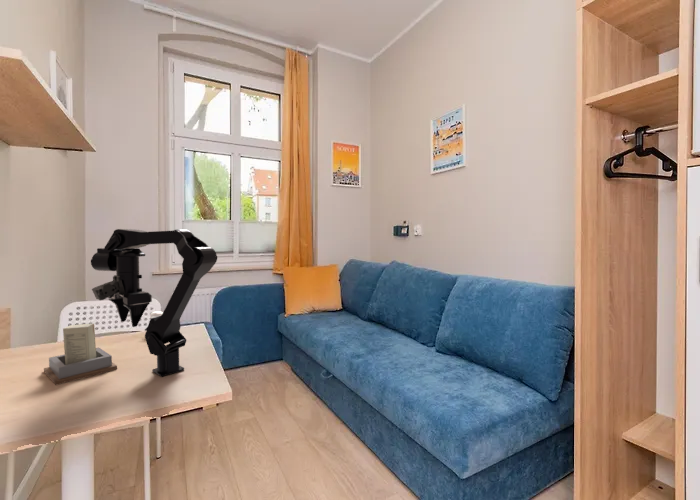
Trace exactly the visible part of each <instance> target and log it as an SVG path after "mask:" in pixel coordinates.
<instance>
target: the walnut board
mask: <svg viewBox="0 0 700 500" xmlns="http://www.w3.org/2000/svg"><path fill="white" fill-rule="evenodd" d="M115 370H118V364H115V363H114V362H112V366H110V367H106V368H102V369H98V370H94V371H90V372H86V373H81V374H77V375H73V376H69V377H65V378H61V379H59V378H58V377H57V376H56V375H55V374H54V373H53V372H52V370H51V369H50V368H49V366H47V367H43V372H44V373H45V375H47V377H48V378H49V379H50V380H51V381H52V383H53V384H54V385H55V386H57V385H60V384H65V383H68V382H72V381H76V380H81V379H85V378H88V377H92V376H97V375H99V374H103V373H107V372H111V371H115Z"/></svg>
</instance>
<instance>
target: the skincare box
mask: <svg viewBox="0 0 700 500" xmlns="http://www.w3.org/2000/svg"><path fill="white" fill-rule="evenodd" d="M62 333H63V334H62V335H63V349H64V351H63V352H64V354H65V365H67V364H71V363H76V362H80V361H84V360H89V359H93V358H96V348H97V347H96V332H95V323H80V324H70V325H68V326H66V327H64V328H62Z"/></svg>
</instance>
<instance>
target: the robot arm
mask: <svg viewBox="0 0 700 500" xmlns="http://www.w3.org/2000/svg"><path fill="white" fill-rule="evenodd" d="M161 244H162V245H165V244H174V245H175V247H176V250H177V253H178V255H179V256H180V257H181V258H183V260H182V262H181V263H182V264H181V265H182V266H181V267H182V275H181V276H180V279H178V282H177V284H176V287H175V288H174V290H173V292H172V295H171V296H170V298H169V300H168V302H167V304H166V306H165V308H164V310H163V311H162V312H163V314H162V315H161V316H158V317H154V318H151V317H150V319H149V321H148V325H147V327H146V328H145V329H144V331H145V334H144V339H145V342H146V345H147V347H148V351H149V354H150V355H153V356H155V357H156V365H157V366H156V368H153V369H152V372H153V373H155V374H156V375H158V376H159V377H165V376H168V375H169V376H170V375H172V374H175V373H178V372H182V371H184V370H185V367H183V366H182V365H180V348H182V347H185V346H186V343H187V339H186V337H185V336H184V335H183V334H182V333H181V332H180V330H181V321H180V320H181V317H182V316H183V314H184V311H185V310H186V307H187V306H188V304H189V301H190V300H191V298H192V296H193V294H194V292H195V290H196V289H197V287H198V285H199V283H200V281H201V279H203V277H204V276H205V275H207V273H208V272H210V271H211V270H212V268H213V267H214V266H215V264H216V263H217V261H218V256H217V252H216V250H215V249H214V248H213V247H210V246H209V244H207V243H206V242H204V241H203V240H201V239H200V238H198V237H197V236H195V235H194V234H193V232H192V231H190V230H188V229H174V230H161V231H160V230H157V231H156V230H155V231H146V230H140V229H131V228H130V229H127V228H126V229H125V228H124V229H122V228H116V229H115V230H113V233H112V234H111V236H110V238H109V240H108V241H107V243H106V244H105V246H104V247H103V248H102V247H101V248H100V247H99V248H97V249H96V251H97V252H95V253H94V254H93V255H92V257H91V259H90V265H91V267H92V269H93V270H95V271H99V272H100V271H102V272H105V271H106V272H115V273H116V274H113V276H112V280H111V281H109V282H105V283H103V284H100V285H98V286H95V287H92V289H91V291H92V293H93V294H94V297H95V298H96V300H99V301H103V300H106V299H107V298H108V301H110V302H112V303H113V304H114V305H115V306H116V309H117V312H118V316H119V319H120V321H121V322H126V321H127V318H128V316H129V317H130V318H129V319H130V322H131V326H132V327H133V328H135V327H137V326H138V325H139V323H140V321H141V318H143V314H144V313H145V311H146V309H147V308H148V307H149V305H150V303H152V302H153V300H152V299H153V298H152V297H153V295H152V294H151V293H149V292H147V291H143V288H142V287H140V279H142V278H143V275H142V274H140V257H145V256H146V253H145V252H143V251H142V250H141V248H143V247H146V246H149V245H161Z"/></svg>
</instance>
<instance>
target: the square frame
mask: <svg viewBox="0 0 700 500" xmlns="http://www.w3.org/2000/svg"><path fill="white" fill-rule="evenodd" d="M112 359H113V357H112V355H111V354H110V353H108V352H106V351H105V350H103V349H102V348H101V347H96V358H93V359H89V360H84V361H80V362H76V363H71V364H67V365H65V353H64V354H60V355H55V356H52V357H51V356H50V357H48V367H49V368H50V369H51V370H52V372H53V373H54V374H55V375H56V376H57V377H58V378H59V379H61V378H65V377H69V376H73V375H77V374H81V373H86V372H90V371H94V370H98V369H102V368H106V367H110V366H112V363H113V362H112V361H113V360H112Z"/></svg>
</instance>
